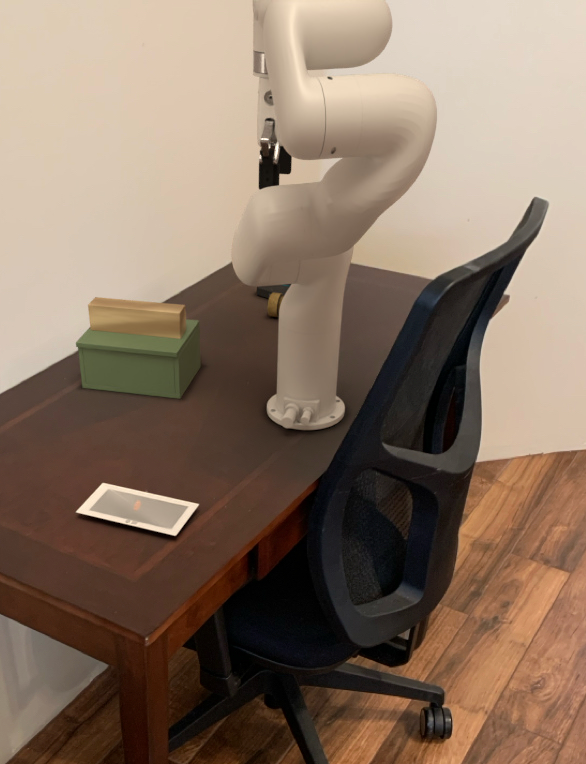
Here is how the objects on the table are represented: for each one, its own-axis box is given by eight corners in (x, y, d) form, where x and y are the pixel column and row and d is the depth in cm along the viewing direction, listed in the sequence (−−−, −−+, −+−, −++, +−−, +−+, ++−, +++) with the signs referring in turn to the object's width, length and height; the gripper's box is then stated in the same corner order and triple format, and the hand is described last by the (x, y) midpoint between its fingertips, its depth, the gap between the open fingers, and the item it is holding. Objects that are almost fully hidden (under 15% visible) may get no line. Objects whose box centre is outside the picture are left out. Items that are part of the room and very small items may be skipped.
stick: (180, 338, 149) (179, 313, 146) (90, 330, 153) (87, 304, 150) (186, 330, 152) (185, 304, 149) (97, 321, 155) (95, 296, 153)
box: (180, 398, 150) (178, 355, 146) (82, 387, 154) (77, 345, 150) (200, 366, 160) (199, 325, 156) (108, 356, 164) (104, 316, 159)
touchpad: (103, 489, 129) (102, 476, 128) (199, 510, 124) (199, 497, 123) (76, 518, 123) (74, 505, 122) (176, 542, 118) (175, 529, 117)
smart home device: (254, 286, 185) (312, 259, 197) (254, 294, 186) (311, 267, 198) (286, 295, 181) (343, 268, 193) (286, 303, 182) (342, 275, 194)
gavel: (300, 267, 190) (346, 272, 187) (298, 288, 192) (344, 294, 189) (267, 296, 174) (317, 302, 170) (266, 319, 176) (315, 326, 173)
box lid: (177, 357, 145) (177, 352, 145) (76, 347, 149) (75, 342, 149) (199, 324, 155) (199, 320, 155) (104, 316, 159) (103, 311, 159)
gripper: (291, 74, 128) (287, 198, 138) (312, 54, 141) (307, 168, 151) (240, 73, 129) (240, 195, 140) (266, 53, 143) (264, 166, 153)
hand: (275, 181), depth 146 cm, fingers open, 9 cm apart
